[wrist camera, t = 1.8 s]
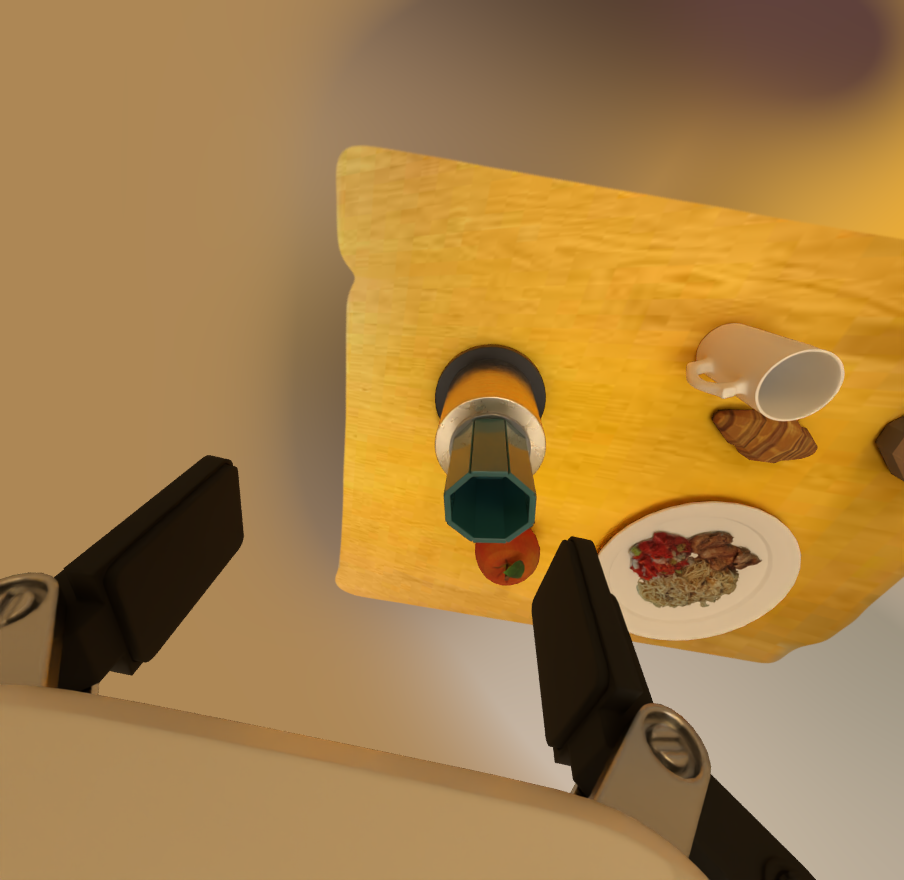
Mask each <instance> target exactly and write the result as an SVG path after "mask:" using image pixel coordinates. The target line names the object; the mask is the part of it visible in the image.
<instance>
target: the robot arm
mask: <svg viewBox="0 0 904 880" xmlns="http://www.w3.org/2000/svg"><path fill="white" fill-rule="evenodd" d="M243 538H244V533H243V522H242V511H241V499H240V488H239V477H238V469H237V467H235V466H233V463H232V461H231V460H229V459H224V458H220V457H215V456H211V455H207V456H205V457H203V458H202V459H201V460H199V461H198V462H197V463H196V464H194V465H193V466H192V467H191V468H189V469H188V470H187V471H186V472H184V473H183V474H182V475H181V476H179V477H178V478H177V479H176V480H174V481H173V482H172V483H170V484H169V485H168V486H167V487H165V488H164V489H163V490H162V491H160V492H159V493H158V494H157V495H155V496H154V497H153V498H152V499H150V500H149V501H148V502H147V503H145V504H144V505H143V506H141V507H140V508H139V509H138V510H136V511H135V512H134V513H133V514H132V515H130V516H129V517H128V518H126V519H125V520H124V521H123V522H122V523H120V524H119V525H118V526H116V527H115V528H114V529H113V530H111V531H110V532H109V533H108V534H106V535H105V536H104V537H102V538H101V539H100V540H99V541H97V542H96V543H95V544H94V545H92V546H91V547H90V548H89V549H87V550H86V551H85V552H84V553H82V554H81V555H80V556H79V557H77V558H76V559H75V560H74V561H72V562H71V563H70V564H68V565H67V566H66V567H65V568H64V570H63V571H61V572H60V573H59V574H58V575H56V576H55V577H54V578H53V577H52V576H50V575H47V574H44V573H24V574H17V575H12V576H9V577H6V578H2V579H0V880H816V879H815V878H814V877H813V876H812V875H811V874H810V873H809V871H808V870H807V869H806V868H805V867H804V866H803V865H802V864H801V863H800V862H799V861H798V860H797V859H796V858H795V857H794V856H793V855H792V854H791V853H790V852H789V851H788V850H787V849H786V848H785V847H784V846H783V845H782V844H781V843H780V842H779V841H778V840H777V839H776V838H775V837H774V836H773V835H771V833H770V832H769V831H768V830H767V829H766V828H765V827H763V826H762V824H761V823H760V822H759V821H758V820H757V819H755V817H754V816H753V815H752V814H751V813H749V812H748V810H747V809H745V808H744V807H743V806H742V805H741V804H740V803H739V802H738V801H737V800H736V799H735V798H734V797H733V796H732V795H731V794H730V793H729V792H728V791H727V790H726V789H725V788H724V787H723V786H722V785H721V784H720V783H719V782H718V781H717V780H716V779H715V778H714V777H713V776H712V775H711V774H710V773H711V765H710V760H709V756H708V752H707V750H706V748H705V746H704V744H703V742H702V740H701V738H700V737H699V736H698V734H697V733H696V731H695V730H694V728H693V727H692V726H691V725H690V724H689V723H688V722H687V721H686V720H685V719H684V718H683V717H682V716H681V715H679V714H678V713H676V712H675V711H674V710H672V709H670V708H668V707H666V706H664V705H661V704H655V703H653V701H652V698H651V695H650V692H649V689H648V686H647V684H646V681H645V678H644V675H643V672H642V669H641V666H640V664H639V660H638V657H637V655H636V652H635V649H634V646H633V643H632V640H631V637H630V634H629V631H628V629H627V626H626V623H625V620H624V617H623V614H622V611H621V608H620V606H619V603H618V601H617V599H616V597H615V596H614V595H613V594H611V593H610V590H609V587H608V584H607V581H606V578H605V575H604V572H603V569H602V566H601V563H600V560H599V557H598V554H597V551H596V548H595V545H594V543H593V542H592V541H591V540H587V539H582V538H578V537H573V536H571V537H570V538H569V539H568V540H563V541H562V542H561V544H560V546H559V548H558V550H557V552H556V554H555V556H554V558H553V560H552V562H551V564H550V566H549V569H548V571H547V573H546V575H545V577H544V579H543V581H542V583H541V585H540V587H539V589H538V591H537V593H536V595H535V597H534V599H533V603H532V619H533V628H534V637H535V646H536V655H537V663H538V673H539V682H540V691H541V700H542V709H543V718H544V727H545V736H546V741H547V744H548V746H550V747H553V751H554V760H555V763H559V764H564V765H569V766H571V770H572V776H573V780H574V782H575V783H576V784H575V785H574V787H573V789H572V791H571V793H567V792H564V791H560V790H557V789H553V788H549V787H544V786H540V785H535V784H531V783H527V782H523V781H519V780H514V779H510V778H505V777H501V776H497V775H493V774H488V773H483V772H479V771H474V770H469V769H464V768H460V767H455V766H450V765H445V764H440V763H436V762H431V761H426V760H421V759H416V758H412V757H407V756H402V755H397V754H392V753H388V752H383V751H378V750H373V749H368V748H363V747H359V746H354V745H349V744H344V743H339V742H334V741H330V740H324V739H320V738H315V737H310V736H305V735H300V734H295V733H290V732H285V731H280V730H276V729H271V728H265V727H261V726H256V725H251V724H246V723H241V722H235V721H231V720H226V719H221V718H215V717H211V716H206V715H200V714H196V713H191V712H185V711H180V710H175V709H170V708H165V707H160V706H155V705H150V704H145V703H140V702H134V701H128V700H123V699H117V698H112V697H106V696H101V695H98V693H99V682H100V681H101V680H102V679H103V678H104V677H105V676H106V674H107V673H108V672H109V671H113V672H117V673H122V674H127V675H133V674H134V672H135V671H136V670H137V669H138V668H139V666H140V665H141V664H142V663H143V662H148V661H150V660H151V659H152V658H153V657H154V656H155V655H156V654H157V653H158V651H159V650H160V649H161V647H162V646H163V645H164V644H165V642H166V641H167V640H168V639H169V637H170V636H171V635H172V633H173V632H174V631H175V630H176V628H177V627H178V626H179V625H180V623H181V622H182V621H183V619H184V618H185V617H186V616H187V614H188V613H189V612H190V611H191V609H192V608H193V607H194V605H195V604H196V603H197V602H198V600H199V599H200V598H201V596H202V595H203V594H204V593H205V591H206V590H207V589H208V588H209V586H210V585H211V584H212V582H213V581H214V580H215V579H216V577H217V576H218V575H219V574H220V572H221V571H222V570H223V569H224V567H225V566H226V565H227V563H228V562H229V561H230V560H231V558H232V557H233V556H234V555H235V553H236V552H237V551H238V549H239V548H240V546H241V544H242V542H243Z"/></svg>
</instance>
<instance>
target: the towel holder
mask: <svg viewBox="0 0 904 880" xmlns="http://www.w3.org/2000/svg"><path fill="white" fill-rule="evenodd" d="M545 401H546V394H545V387H544V383H543V380H542V377H541V375H540V373H539V371H538V369H537V368H536V366H535V365H534V364H533V363H532V361H531V360H530V359H528V358H527V357H526V356H525V355H523V354H522V353H520V352H519V351H517V350H515V349H513V348H510V347H506V346H502V345H493V344H489V345H480V346H475V347H473V348H470V349H467V350H465V351H463V352H461V353H460V354H459V355H457V356H456V357H454V358H453V359H452V360H451V361H450V362H449V363H448V365H447V366H446V367H445V369H444V370H443V372H442V374H441V376H440V378H439V381H438V384H437V387H436V393H435V403H436V409H437V413H438V416H439V418H440V422H439V425H438V429H437V433H436V438H435V451H436V456H437V459H438V461H439V463H440V465H441V467H442V469H443V470H444V471H445V473H446V474H447V473H448V467H449V462H450V456H451V450H452V445H453V439H454V437H455V436H456V435H457V434H458V433H459V432H460V431H462V430H463V429H464V428H465V427H466V426H467V425H468V424H469V423H470V422H471V421H472V420H474V421H475V419H504V421H505V420H507V421H508V422H509V423H510V424H512V425H513V426H514V427H515V428H516V429H517V430H518V431H519V432H520V433H521V434H523V435H524V436H525V437H526V440H527V446H528V451H529V457H530V462H531V468H532V474H533V475H534V474H535V473H536V471H537V470H538V468H539V467H540V465H541V463H542V461H543V458H544V455H545V450H546V440H545V434H544V430H543V427H542V423H541V420H540V419H541V416H542V414H543V411H544V407H545Z"/></svg>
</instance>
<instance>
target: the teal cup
mask: <svg viewBox="0 0 904 880" xmlns="http://www.w3.org/2000/svg"><path fill="white" fill-rule="evenodd" d="M444 507H445V521H446V522H447V524H448V525H449V526H451V527H452V528H453V529H455V530H456V531H457V532H459V533H460V534H461V535H463V536H464V537H465V538H467V539H468V540H469V541H473V542H474V543H506V541H507V542H508V543H509V542H510V541H512V540H513V539H514V538H516V537H517V536H519V535H520V534H522V533H523V532H524V531H526V530H527V529H529V528H530V527H532V526H533V524H534V523H535V510H536V490H535V485H534V479H533V474H532V468H531V462H530V457H529V451H528V446H527V440H526V437H525V436H524V435H523V434H521V433H520V432H519V431H518V430H517V429H516V428H515V427H514V426H513V425H512V424H510V423H509V422H508V421H507V420H505V421H504V419H475V421H474V420H472V421H471V422H470V423H469V424H468V425H467V426H466V427H465V428H464V429H463V430H462V431H460V432H459V433H458V434H457V435H456V436H455V437H454V439H453V445H452V450H451V456H450V462H449V467H448V473H447V479H446V484H445V490H444Z"/></svg>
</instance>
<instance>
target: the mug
mask: <svg viewBox="0 0 904 880" xmlns="http://www.w3.org/2000/svg"><path fill="white" fill-rule="evenodd" d="M696 360H697V361H695V362H690V363H688V364H687V366H686V378H687V381H688V383H689V384H690V385H691V386H693V387H694V388H696V389H698V390H701V391H704V392H707V393H710V394H713V395H717V396H719V397H721V398H723V399H724V398H728V397H732V396H734V395H735V396H737V397H738V398H740V399H741V400H742V401H744V402H745V403H747V404H748V405H749V406H751V407H752V408H754V409H755V410H757V411H758V412H760V413H761V414H763V415H764V416H765V417H767V418H769V419H772V420H776V421H793V420H797V419H801V418H804V417H807V416H809V415H811V414H813V413H815V412H817V411H818V410H820V409H821V408H823V407H824V406H825V405H826V404H828V403H829V402H830V401H831V400H832V399H833V397H834V396H835V395H836V394H837V392H838V391H839V389H840V387H841V385H842V383H843V379H844V367H843V364H842V362H841V360H840V359H839V358H838V357H837V356H836V355H835V354H833V353H831V352H829V351H826V350H822V349H819V348H816V347H814V346H811V345H808V344H805V343H802V342H798V341H795V340H792V339H789V338H786V337H782V336H779V335H776V334H773V333H770V332H766V331H763V330H760V329H757V328H754V327H750V326H747V325H744V324H739V323H730V324H725V325H722V326H720V327H718V328H716V329H714V330H713V331H711V332H710V333H709V334H708V335H707V336H706V337H705V338H704V339H703V340H702V342H701V343H700V345H699V347H698V350H697V354H696ZM702 373H705V374H706V375H708V376H709V377H710V378H712V379H713V380H714V381H716V382H717V383H712V382H707V381H704V380H702V379H701V378H700V377H699V376H698V375H699V374H702Z"/></svg>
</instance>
